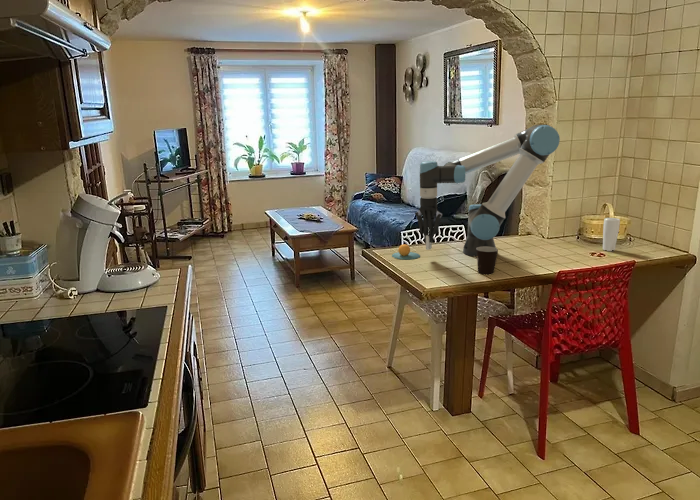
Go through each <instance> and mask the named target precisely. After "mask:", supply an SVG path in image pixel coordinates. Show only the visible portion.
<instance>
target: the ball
mask: <svg viewBox="0 0 700 500" xmlns="http://www.w3.org/2000/svg"><path fill="white" fill-rule="evenodd" d="M397 251H398V252H399V254H400V255H402V256H407V255H408V254H409V253H410V252H411V247H410V246H409V245H408V244H400V245H399V246H398V249H397Z"/></svg>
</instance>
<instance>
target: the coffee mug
mask: <svg viewBox="0 0 700 500" xmlns="http://www.w3.org/2000/svg"><path fill="white" fill-rule="evenodd" d="M476 250H477V257H476V262H477V272H478V274H481V275H484V274H485V275H486V274H487V275H488V276H489V274H491V275H494V274H493V273H495V268H496V264H497V257H498V254H499V253H498V252H499V249H498V248H497V247H496V248H494V247H487V246H483V247H477V248H476ZM487 275H486V276H487Z"/></svg>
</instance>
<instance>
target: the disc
mask: <svg viewBox="0 0 700 500" xmlns="http://www.w3.org/2000/svg"><path fill="white" fill-rule="evenodd" d="M391 257H392V258H393V257H394V259H396V258H397V260H406V261H407V260H408V261H409V260H416V259H418V258H420V257H421V255H420V254H419V253H418V252H412V251H410V253H409V254H408V255H407V256H402V255H400V254H399V252H394V253H393V254H392V255H391Z"/></svg>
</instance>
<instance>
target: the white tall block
mask: <svg viewBox="0 0 700 500" xmlns="http://www.w3.org/2000/svg"><path fill="white" fill-rule="evenodd" d="M620 225H621V219H620V218H617V217H605V218H604V219H603V225H602V226H603V227H602V250H604V251H605V250H607V251H606V252H613V251H612V250H614V251H616V245H617V241H618V237H619V236H618V235H619V231H620Z"/></svg>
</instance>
